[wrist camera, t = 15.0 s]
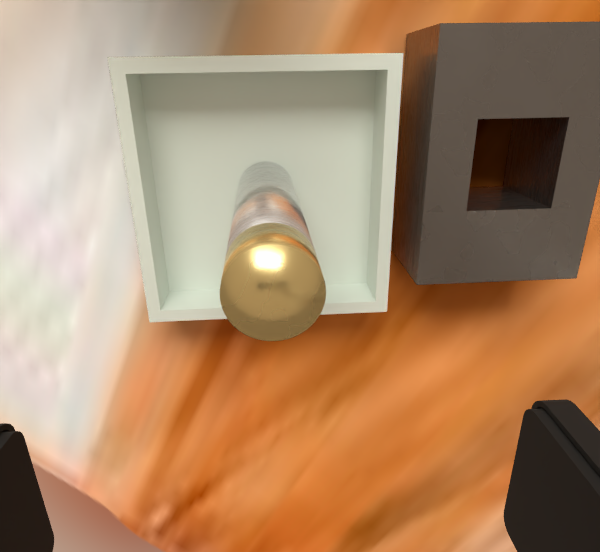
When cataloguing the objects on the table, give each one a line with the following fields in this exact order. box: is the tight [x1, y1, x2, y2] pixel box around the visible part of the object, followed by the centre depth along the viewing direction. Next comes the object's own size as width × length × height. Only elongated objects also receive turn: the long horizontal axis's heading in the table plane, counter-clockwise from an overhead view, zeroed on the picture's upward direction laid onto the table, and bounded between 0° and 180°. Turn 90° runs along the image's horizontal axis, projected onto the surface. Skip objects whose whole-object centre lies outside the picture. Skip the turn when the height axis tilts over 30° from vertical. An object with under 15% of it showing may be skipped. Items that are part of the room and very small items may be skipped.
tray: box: [107, 53, 403, 322], centre depth 30 cm, size 16×16×4 cm
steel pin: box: [220, 161, 326, 341], centre depth 23 cm, size 4×4×16 cm
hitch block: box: [393, 22, 600, 285], centre depth 29 cm, size 14×10×6 cm
